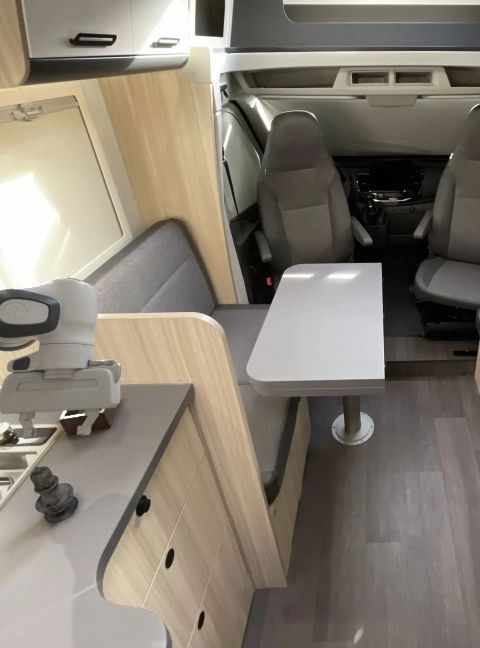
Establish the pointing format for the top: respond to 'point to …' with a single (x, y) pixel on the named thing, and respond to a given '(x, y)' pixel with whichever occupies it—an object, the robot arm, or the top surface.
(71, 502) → the dark grey chess piece
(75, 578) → the top surface
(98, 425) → the open brown box
